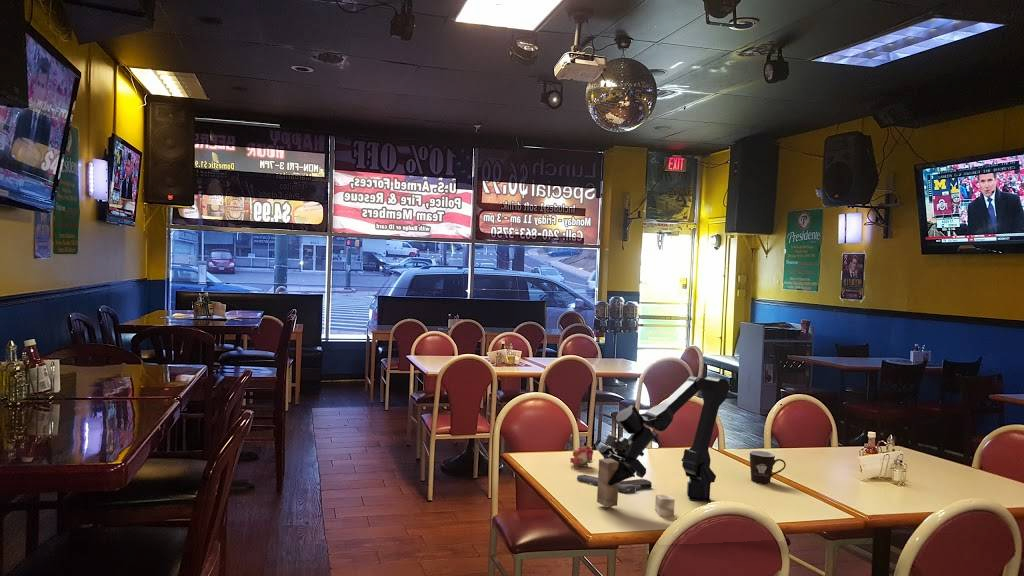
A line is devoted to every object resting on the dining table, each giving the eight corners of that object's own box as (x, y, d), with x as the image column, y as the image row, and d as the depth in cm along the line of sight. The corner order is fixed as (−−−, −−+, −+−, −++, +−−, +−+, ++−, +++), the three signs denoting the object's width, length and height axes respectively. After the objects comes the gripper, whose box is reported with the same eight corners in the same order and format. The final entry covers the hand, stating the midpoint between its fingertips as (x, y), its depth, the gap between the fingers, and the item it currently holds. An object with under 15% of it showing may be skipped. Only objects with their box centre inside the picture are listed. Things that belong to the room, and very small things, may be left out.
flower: (603, 463, 267) (594, 443, 271) (592, 462, 260) (583, 441, 263) (581, 474, 271) (573, 454, 274) (570, 474, 263) (561, 453, 266)
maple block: (669, 511, 220) (670, 495, 220) (673, 516, 215) (674, 499, 215) (654, 511, 219) (655, 494, 219) (659, 516, 215) (660, 499, 215)
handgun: (598, 468, 259) (575, 474, 248) (654, 480, 245) (632, 487, 234) (597, 476, 259) (575, 482, 248) (653, 488, 245) (632, 496, 234)
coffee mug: (743, 480, 260) (745, 452, 260) (754, 476, 266) (755, 449, 266) (775, 488, 252) (777, 459, 252) (785, 484, 258) (787, 456, 258)
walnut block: (608, 500, 223) (610, 458, 223) (617, 505, 219) (619, 462, 218) (596, 501, 221) (599, 459, 221) (605, 506, 217) (608, 463, 217)
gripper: (605, 419, 230) (572, 456, 225) (639, 432, 213) (605, 472, 208) (624, 443, 233) (593, 480, 229) (660, 457, 216) (627, 498, 212)
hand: (604, 482), depth 219 cm, fingers closed on walnut block, 5 cm apart
